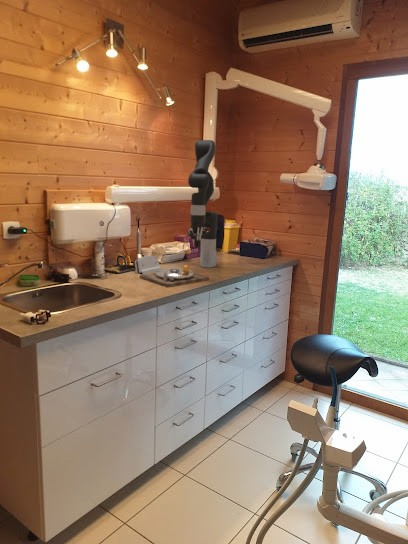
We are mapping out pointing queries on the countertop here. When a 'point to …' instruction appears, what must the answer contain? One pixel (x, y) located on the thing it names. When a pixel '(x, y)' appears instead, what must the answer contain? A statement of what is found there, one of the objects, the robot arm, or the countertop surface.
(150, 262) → the hinge
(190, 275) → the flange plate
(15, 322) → the countertop surface
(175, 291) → the countertop surface
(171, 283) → the base board
